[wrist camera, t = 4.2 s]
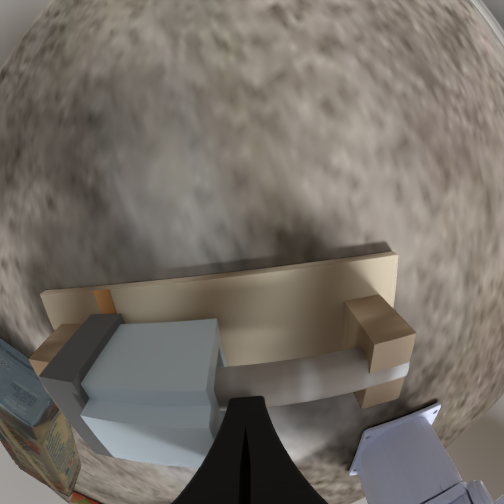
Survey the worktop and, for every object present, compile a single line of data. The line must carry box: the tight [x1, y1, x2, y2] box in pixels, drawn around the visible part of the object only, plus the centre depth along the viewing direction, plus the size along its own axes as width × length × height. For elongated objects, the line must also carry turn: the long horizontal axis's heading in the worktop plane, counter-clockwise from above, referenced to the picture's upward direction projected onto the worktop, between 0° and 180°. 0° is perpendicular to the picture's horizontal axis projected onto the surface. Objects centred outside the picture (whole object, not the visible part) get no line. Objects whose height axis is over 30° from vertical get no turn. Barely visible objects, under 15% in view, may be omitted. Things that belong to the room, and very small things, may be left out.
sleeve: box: [80, 318, 227, 467], centre depth 10 cm, size 5×5×6 cm
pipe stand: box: [28, 251, 416, 412], centre depth 12 cm, size 20×8×4 cm, turn 97°
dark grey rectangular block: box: [39, 313, 126, 460], centre depth 11 cm, size 2×5×5 cm, turn 6°
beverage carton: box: [0, 338, 81, 497], centre depth 14 cm, size 8×19×7 cm, turn 159°
